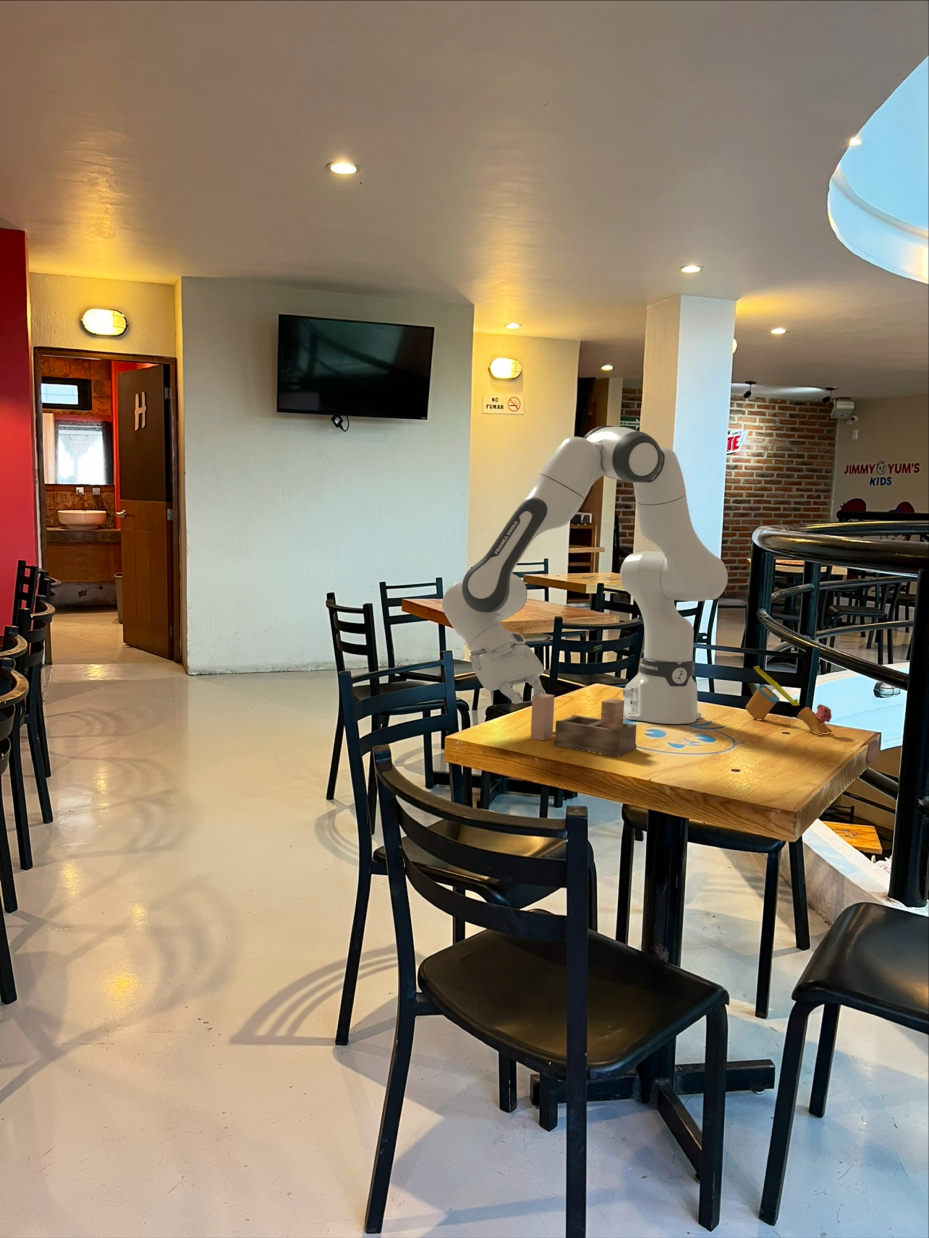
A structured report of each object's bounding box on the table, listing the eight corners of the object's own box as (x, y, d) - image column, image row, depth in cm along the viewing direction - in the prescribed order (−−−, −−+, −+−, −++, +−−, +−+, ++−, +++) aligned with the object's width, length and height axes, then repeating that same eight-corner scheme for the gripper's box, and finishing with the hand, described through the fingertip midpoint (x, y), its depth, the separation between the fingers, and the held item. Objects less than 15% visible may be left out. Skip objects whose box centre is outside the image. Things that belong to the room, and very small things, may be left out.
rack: (553, 745, 183) (555, 697, 182) (574, 737, 191) (576, 691, 190) (617, 757, 176) (619, 706, 175) (636, 748, 183) (638, 699, 182)
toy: (742, 697, 222) (772, 650, 213) (808, 763, 208) (843, 715, 200) (728, 699, 219) (758, 652, 210) (794, 767, 205) (829, 719, 197)
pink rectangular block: (530, 738, 189) (532, 696, 188) (540, 735, 192) (541, 693, 192) (543, 740, 188) (544, 697, 187) (552, 737, 191) (554, 695, 190)
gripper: (475, 642, 185) (514, 696, 181) (526, 634, 202) (563, 683, 198) (456, 662, 188) (494, 715, 184) (508, 652, 205) (544, 700, 201)
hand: (530, 698), depth 191 cm, fingers open, 8 cm apart
